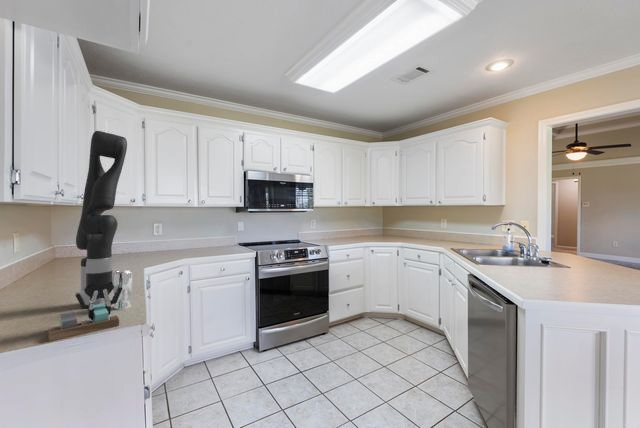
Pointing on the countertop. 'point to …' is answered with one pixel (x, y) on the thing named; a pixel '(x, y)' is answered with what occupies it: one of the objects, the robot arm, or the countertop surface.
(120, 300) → the beer glass
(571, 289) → the countertop surface
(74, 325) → the charcoal plug
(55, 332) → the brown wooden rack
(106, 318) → the teal plug
